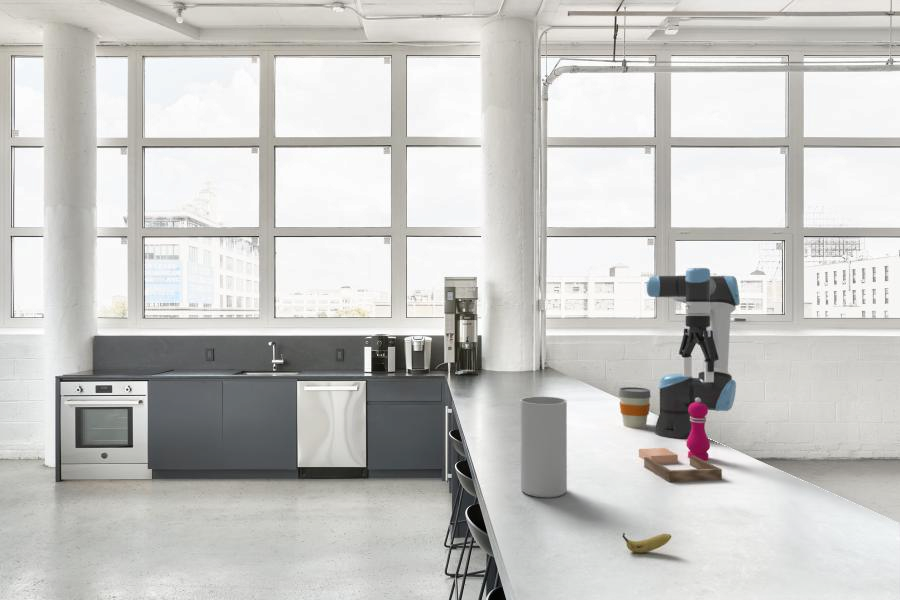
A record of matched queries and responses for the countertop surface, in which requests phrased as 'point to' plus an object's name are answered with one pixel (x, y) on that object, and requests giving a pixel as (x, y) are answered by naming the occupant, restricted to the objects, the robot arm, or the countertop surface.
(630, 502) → the countertop surface
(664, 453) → the terracotta tile
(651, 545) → the banana
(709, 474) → the walnut frame
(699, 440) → the pepper mill
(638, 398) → the reusable coffee cup
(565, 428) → the cylinder vase
